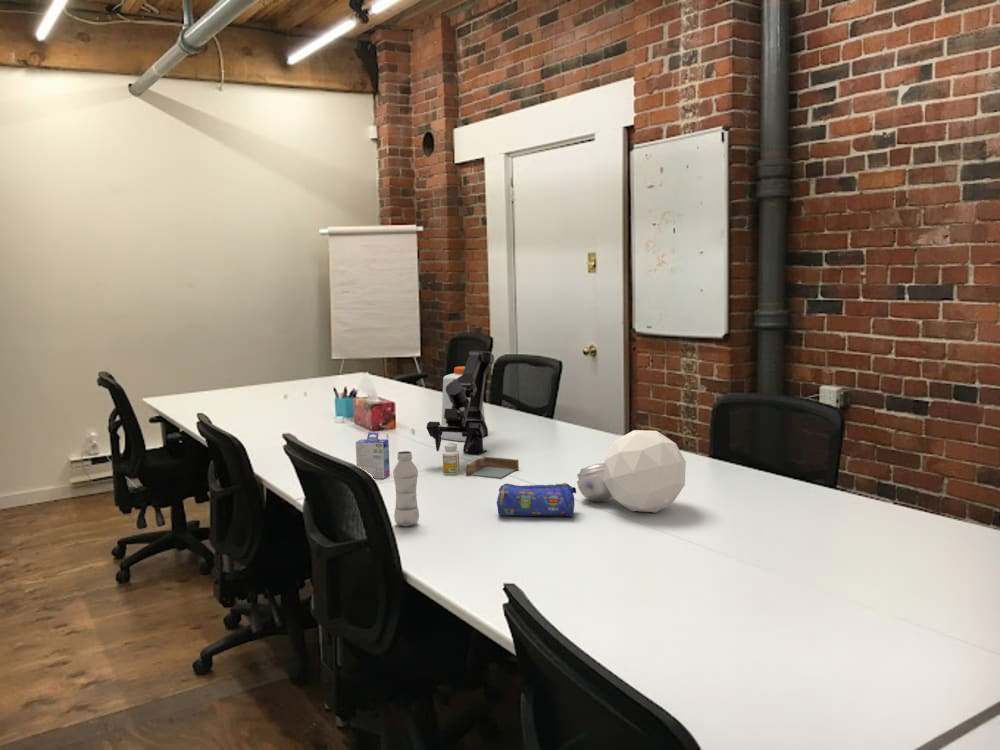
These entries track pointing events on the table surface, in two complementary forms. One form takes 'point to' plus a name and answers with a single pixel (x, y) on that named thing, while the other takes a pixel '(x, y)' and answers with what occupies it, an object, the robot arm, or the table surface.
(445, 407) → the plastic bottle
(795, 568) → the table surface
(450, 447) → the supplement bottle
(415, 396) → the table surface
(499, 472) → the mat
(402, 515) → the plastic bottle
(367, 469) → the ink cartridge box
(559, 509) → the pencil case
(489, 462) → the corner walls
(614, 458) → the lamp
